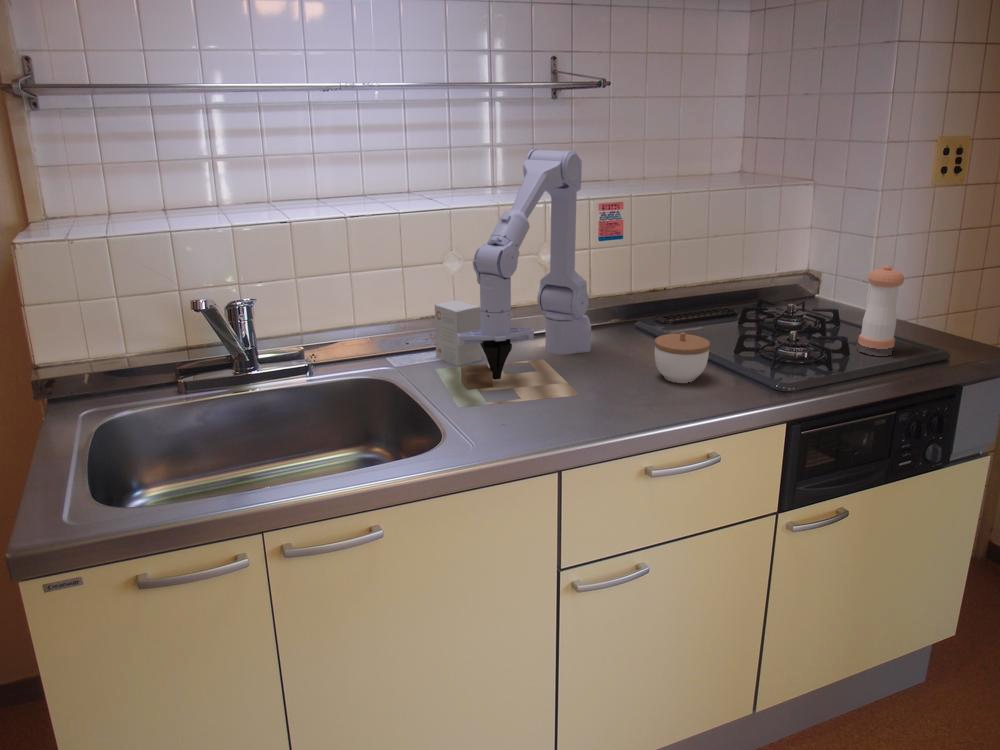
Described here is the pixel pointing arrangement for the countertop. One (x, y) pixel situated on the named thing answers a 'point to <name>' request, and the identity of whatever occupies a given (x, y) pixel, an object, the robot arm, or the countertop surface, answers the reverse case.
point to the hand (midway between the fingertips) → (495, 377)
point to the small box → (454, 321)
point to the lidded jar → (681, 356)
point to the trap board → (509, 385)
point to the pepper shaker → (881, 309)
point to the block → (476, 376)
